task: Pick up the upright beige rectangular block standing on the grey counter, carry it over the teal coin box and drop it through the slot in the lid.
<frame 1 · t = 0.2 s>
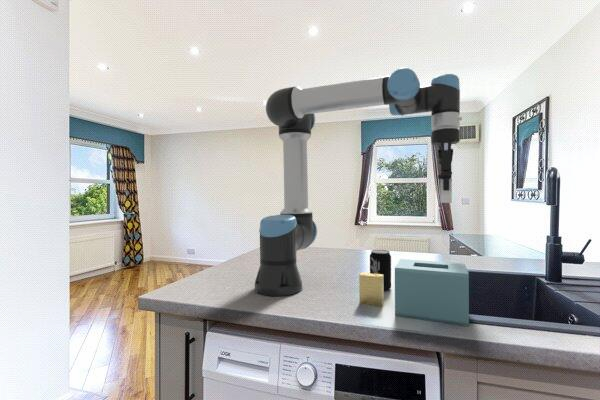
hand: (445, 202, 91), 27 cm above the worktop, fingers open, 13 cm apart
beige rectangular block: (371, 303, 85), on the worktop
coin box: (430, 312, 78), on the worktop
beverage can: (380, 289, 99), on the worktop
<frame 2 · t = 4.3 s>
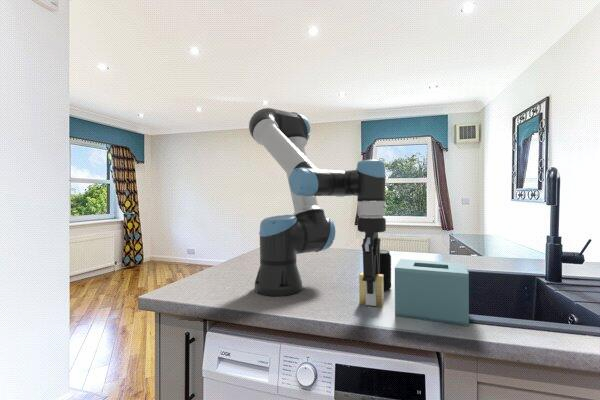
hand: (372, 302, 85), 0 cm above the worktop, fingers closed on beige rectangular block, 3 cm apart
beige rectangular block: (371, 303, 85), on the worktop, touching gripper
everything else where it was.
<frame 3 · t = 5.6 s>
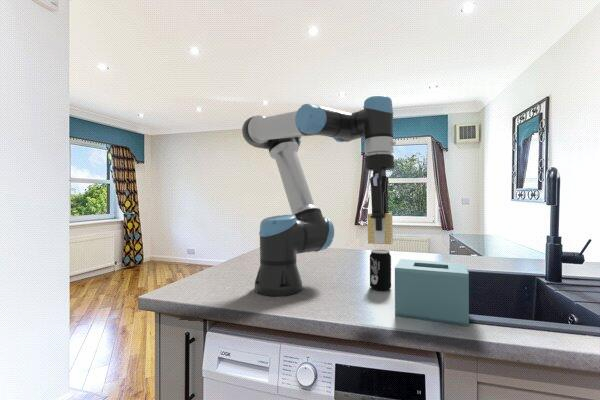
hand: (381, 242, 83), 17 cm above the worktop, fingers closed on beige rectangular block, 3 cm apart
beige rectangular block: (380, 243, 83), point 17 cm above the worktop, touching gripper
everything else where it was.
when the fingers open (13 cm above the worktop, at t = 7.2 s): beige rectangular block drops 12 cm, resting on coin box.
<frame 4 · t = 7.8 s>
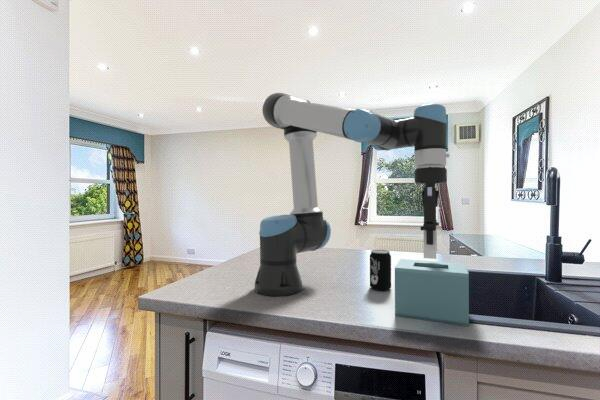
hand: (430, 254, 78), 15 cm above the worktop, fingers open, 11 cm apart
beige rectangular block: (430, 309, 78), point 1 cm above the worktop, touching coin box
everything else where it was.
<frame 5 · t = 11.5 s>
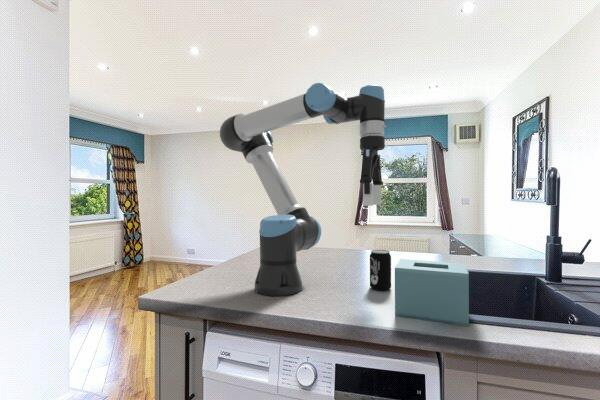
hand: (372, 205, 97), 27 cm above the worktop, fingers open, 13 cm apart
nothing on the worktop moved.
at the end: beige rectangular block inside the target area on the coin box (0.2 cm from its centre), point 0.6 cm above the coin box's base; the gripper is holding nothing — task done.
